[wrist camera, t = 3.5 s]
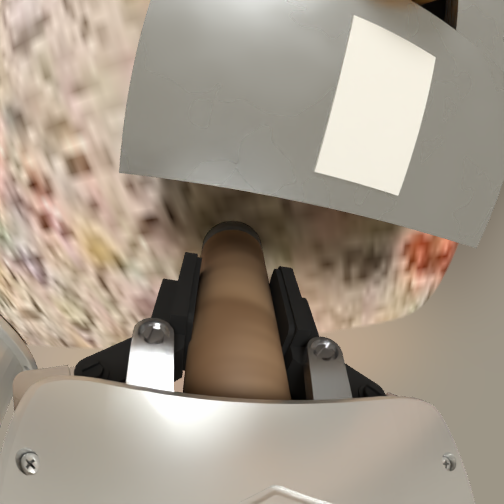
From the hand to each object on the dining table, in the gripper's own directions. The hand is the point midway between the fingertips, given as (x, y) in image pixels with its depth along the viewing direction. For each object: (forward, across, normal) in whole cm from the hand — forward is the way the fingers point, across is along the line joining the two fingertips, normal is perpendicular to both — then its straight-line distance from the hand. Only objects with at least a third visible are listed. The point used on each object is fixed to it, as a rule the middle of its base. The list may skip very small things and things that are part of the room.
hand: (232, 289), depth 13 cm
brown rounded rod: (+4, 0, 0) cm, 4 cm away
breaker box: (+4, -3, -13) cm, 14 cm away
